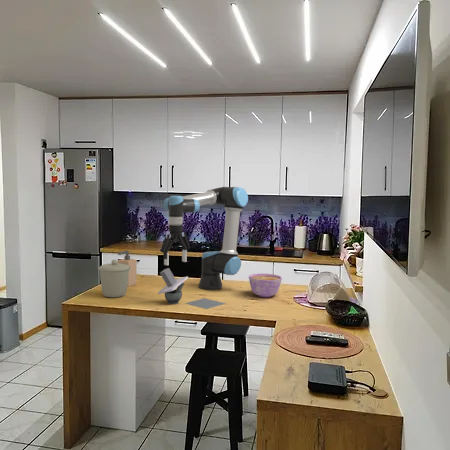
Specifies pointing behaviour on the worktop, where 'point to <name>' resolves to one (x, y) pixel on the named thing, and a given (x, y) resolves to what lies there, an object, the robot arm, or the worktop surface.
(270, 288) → the bowl of food
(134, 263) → the soap dispenser
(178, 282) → the cover board
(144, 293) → the worktop surface
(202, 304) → the mat
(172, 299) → the mortar and pestle
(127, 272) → the canister
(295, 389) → the worktop surface
